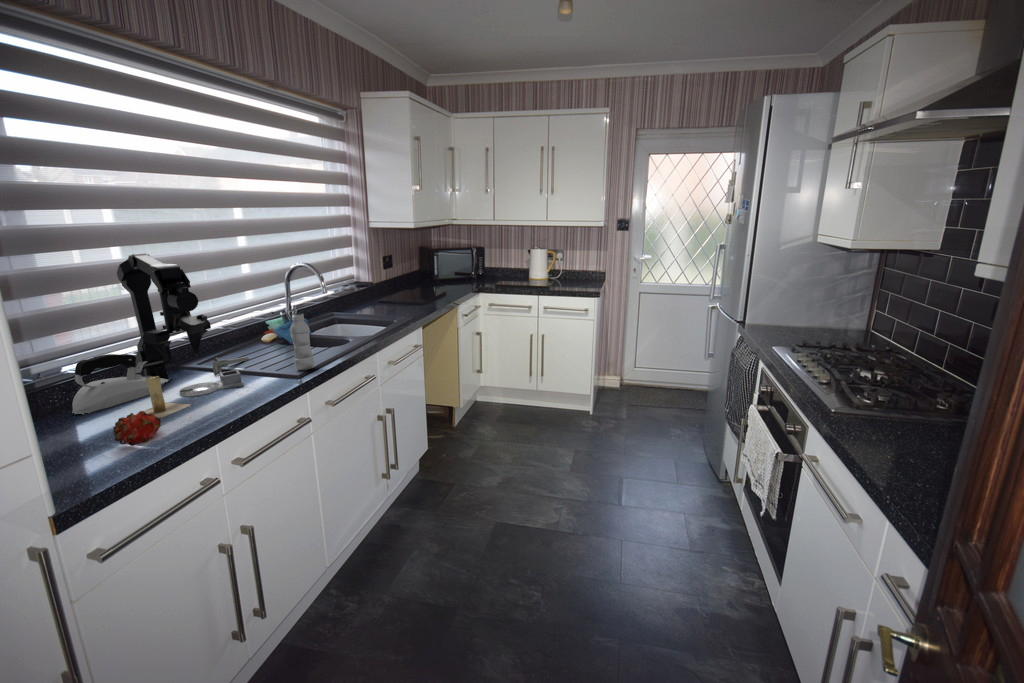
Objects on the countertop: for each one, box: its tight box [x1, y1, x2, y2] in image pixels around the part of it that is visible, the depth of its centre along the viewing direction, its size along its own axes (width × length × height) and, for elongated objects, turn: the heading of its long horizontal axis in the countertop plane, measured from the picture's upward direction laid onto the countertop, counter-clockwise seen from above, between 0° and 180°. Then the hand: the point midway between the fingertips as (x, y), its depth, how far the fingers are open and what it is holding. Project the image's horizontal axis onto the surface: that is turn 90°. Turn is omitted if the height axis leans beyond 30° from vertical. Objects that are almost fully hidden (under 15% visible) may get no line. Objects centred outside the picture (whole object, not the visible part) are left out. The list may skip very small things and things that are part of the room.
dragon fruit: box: [112, 410, 162, 447], centre depth 129 cm, size 8×8×12 cm
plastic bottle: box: [289, 313, 315, 371], centre depth 183 cm, size 6×7×20 cm
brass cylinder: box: [146, 376, 166, 413], centre depth 147 cm, size 3×3×10 cm
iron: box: [71, 353, 170, 415], centre depth 157 cm, size 11×24×15 cm, turn 153°
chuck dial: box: [179, 369, 244, 398], centre depth 166 cm, size 18×11×4 cm, turn 126°
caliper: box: [212, 356, 250, 376], centre depth 191 cm, size 20×1×6 cm, turn 176°
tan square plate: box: [134, 401, 191, 419], centre depth 149 cm, size 10×10×1 cm
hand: (183, 357), depth 158 cm, fingers open, 9 cm apart
